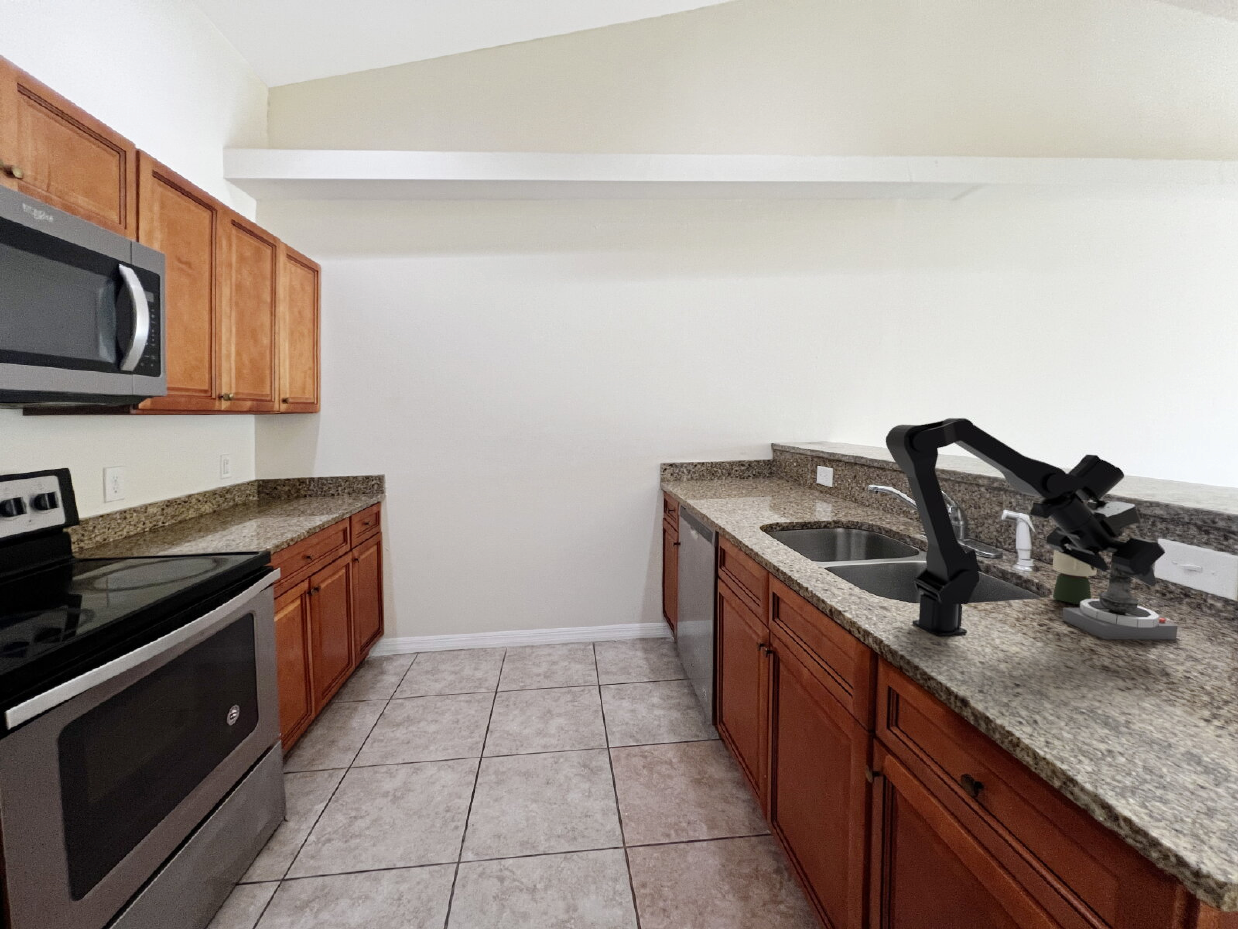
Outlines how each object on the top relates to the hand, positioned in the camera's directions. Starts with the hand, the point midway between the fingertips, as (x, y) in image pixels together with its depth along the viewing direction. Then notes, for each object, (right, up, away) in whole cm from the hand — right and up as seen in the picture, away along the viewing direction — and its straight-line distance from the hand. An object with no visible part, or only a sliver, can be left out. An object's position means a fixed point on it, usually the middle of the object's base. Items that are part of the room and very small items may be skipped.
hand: (1128, 577), depth 99 cm
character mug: (+2, -9, +15) cm, 18 cm away
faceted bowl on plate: (-1, -10, +1) cm, 10 cm away
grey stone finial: (-2, -8, +1) cm, 8 cm away
